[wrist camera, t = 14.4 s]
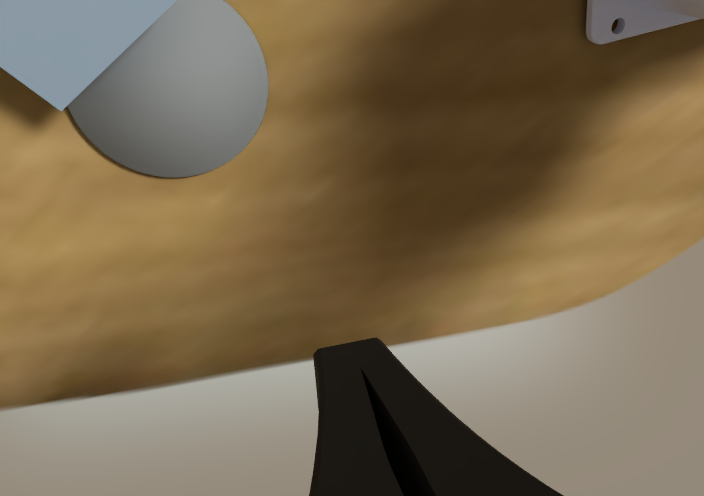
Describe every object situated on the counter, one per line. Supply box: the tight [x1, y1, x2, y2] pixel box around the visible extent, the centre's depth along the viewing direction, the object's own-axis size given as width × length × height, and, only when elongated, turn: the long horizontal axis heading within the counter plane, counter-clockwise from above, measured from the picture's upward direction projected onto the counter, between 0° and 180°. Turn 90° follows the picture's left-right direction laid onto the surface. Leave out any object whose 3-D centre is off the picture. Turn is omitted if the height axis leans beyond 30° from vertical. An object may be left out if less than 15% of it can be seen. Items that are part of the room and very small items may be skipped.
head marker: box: [67, 0, 268, 178], centre depth 17 cm, size 6×6×1 cm
